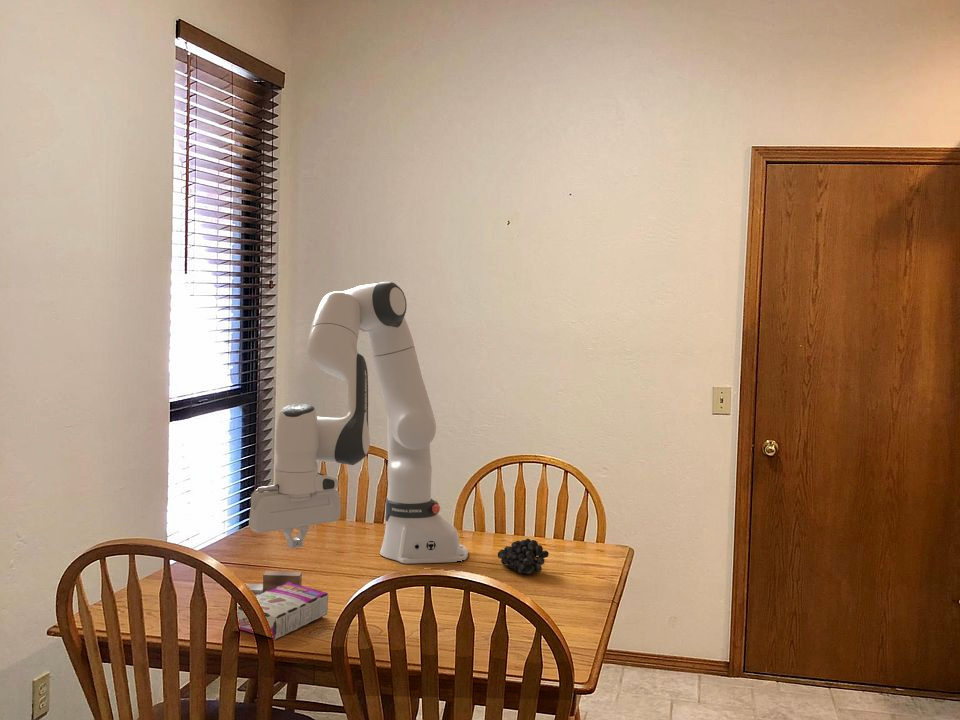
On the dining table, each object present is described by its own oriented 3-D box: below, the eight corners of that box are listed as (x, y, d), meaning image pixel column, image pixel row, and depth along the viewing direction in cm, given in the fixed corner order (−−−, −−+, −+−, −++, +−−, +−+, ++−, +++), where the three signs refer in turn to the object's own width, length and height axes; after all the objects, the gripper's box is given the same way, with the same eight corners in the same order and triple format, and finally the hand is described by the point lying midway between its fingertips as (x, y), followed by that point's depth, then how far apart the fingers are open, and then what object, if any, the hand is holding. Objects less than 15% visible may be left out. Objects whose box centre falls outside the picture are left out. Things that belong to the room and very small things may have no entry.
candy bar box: (287, 603, 209) (231, 627, 195) (288, 581, 209) (232, 603, 195) (328, 616, 204) (274, 641, 190) (329, 592, 203) (275, 616, 189)
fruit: (493, 528, 246) (533, 540, 234) (517, 534, 251) (557, 546, 239) (484, 562, 245) (524, 576, 233) (508, 567, 250) (548, 581, 238)
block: (301, 588, 221) (302, 570, 221) (298, 594, 216) (299, 576, 216) (243, 587, 221) (243, 569, 220) (239, 593, 216) (239, 575, 216)
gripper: (258, 490, 197) (257, 558, 198) (345, 479, 211) (343, 543, 212) (243, 485, 202) (243, 551, 203) (329, 475, 216) (328, 537, 217)
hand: (295, 547), depth 208 cm, fingers closed
